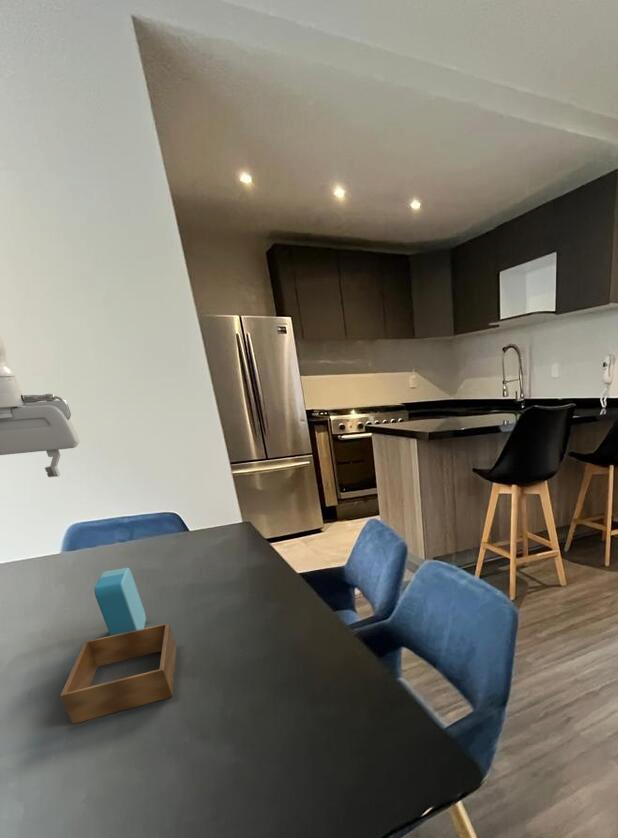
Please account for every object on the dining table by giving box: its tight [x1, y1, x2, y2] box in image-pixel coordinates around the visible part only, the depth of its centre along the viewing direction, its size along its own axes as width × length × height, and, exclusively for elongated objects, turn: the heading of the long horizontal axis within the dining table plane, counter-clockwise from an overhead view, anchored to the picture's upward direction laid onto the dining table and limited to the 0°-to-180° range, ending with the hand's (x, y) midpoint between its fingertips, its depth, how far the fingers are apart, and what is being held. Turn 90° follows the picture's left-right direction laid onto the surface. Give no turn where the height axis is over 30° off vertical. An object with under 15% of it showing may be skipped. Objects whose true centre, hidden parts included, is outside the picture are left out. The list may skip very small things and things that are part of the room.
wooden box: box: [60, 622, 177, 725], centre depth 81 cm, size 13×18×5 cm
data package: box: [93, 567, 147, 636], centre depth 97 cm, size 12×4×12 cm, turn 26°
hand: (22, 480), depth 88 cm, fingers open, 8 cm apart
